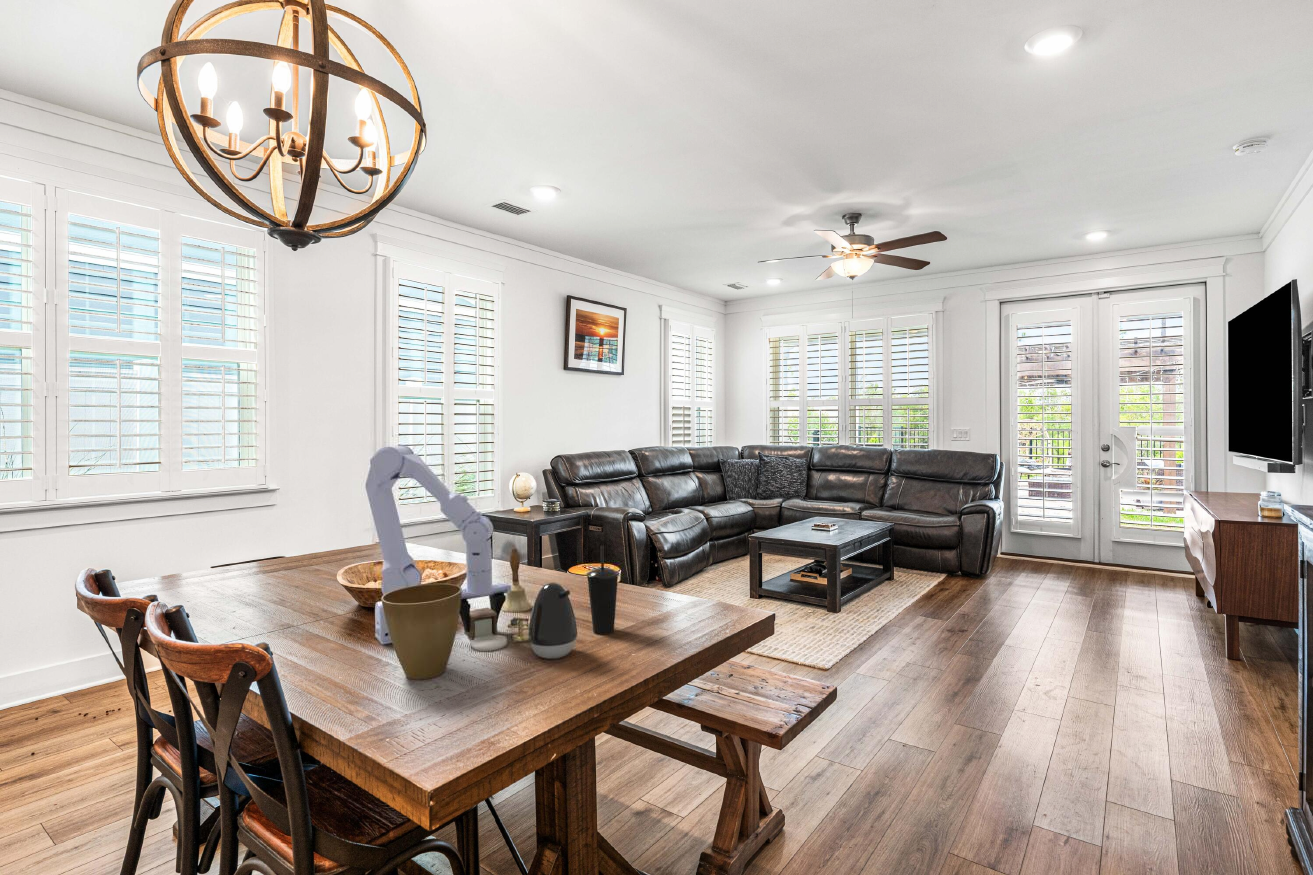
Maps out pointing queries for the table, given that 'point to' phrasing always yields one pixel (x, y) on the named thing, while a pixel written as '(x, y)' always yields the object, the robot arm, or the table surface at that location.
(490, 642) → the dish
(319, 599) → the table surface
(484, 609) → the cover
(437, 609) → the plant pot
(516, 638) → the balance
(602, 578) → the drinking cup
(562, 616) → the pump dispenser
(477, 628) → the block
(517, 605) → the hand bell
